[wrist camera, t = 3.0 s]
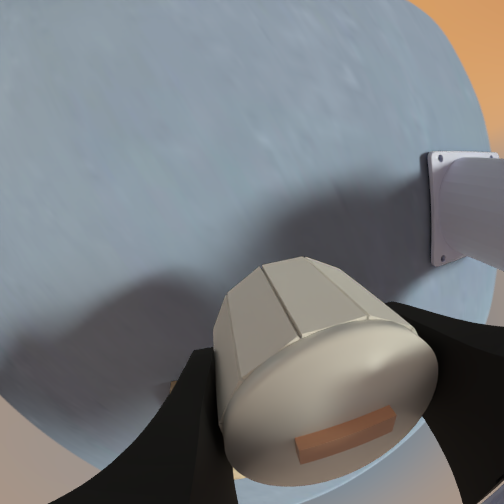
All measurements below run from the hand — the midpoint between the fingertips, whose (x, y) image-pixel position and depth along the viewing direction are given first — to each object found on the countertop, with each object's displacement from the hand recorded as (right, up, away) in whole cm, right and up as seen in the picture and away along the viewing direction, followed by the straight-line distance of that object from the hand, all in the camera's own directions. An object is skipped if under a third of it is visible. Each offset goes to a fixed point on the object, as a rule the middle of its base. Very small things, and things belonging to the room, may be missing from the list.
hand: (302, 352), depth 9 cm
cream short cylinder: (0, 0, +1) cm, 1 cm away
